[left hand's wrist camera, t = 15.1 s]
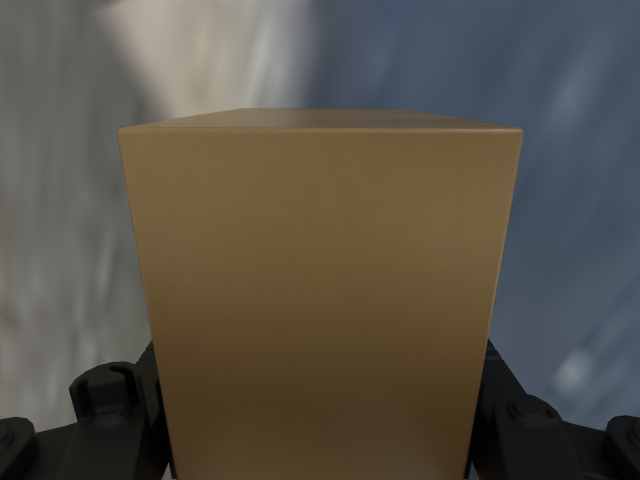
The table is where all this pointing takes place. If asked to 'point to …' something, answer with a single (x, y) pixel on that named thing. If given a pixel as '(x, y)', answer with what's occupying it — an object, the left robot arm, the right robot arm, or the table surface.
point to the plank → (320, 286)
